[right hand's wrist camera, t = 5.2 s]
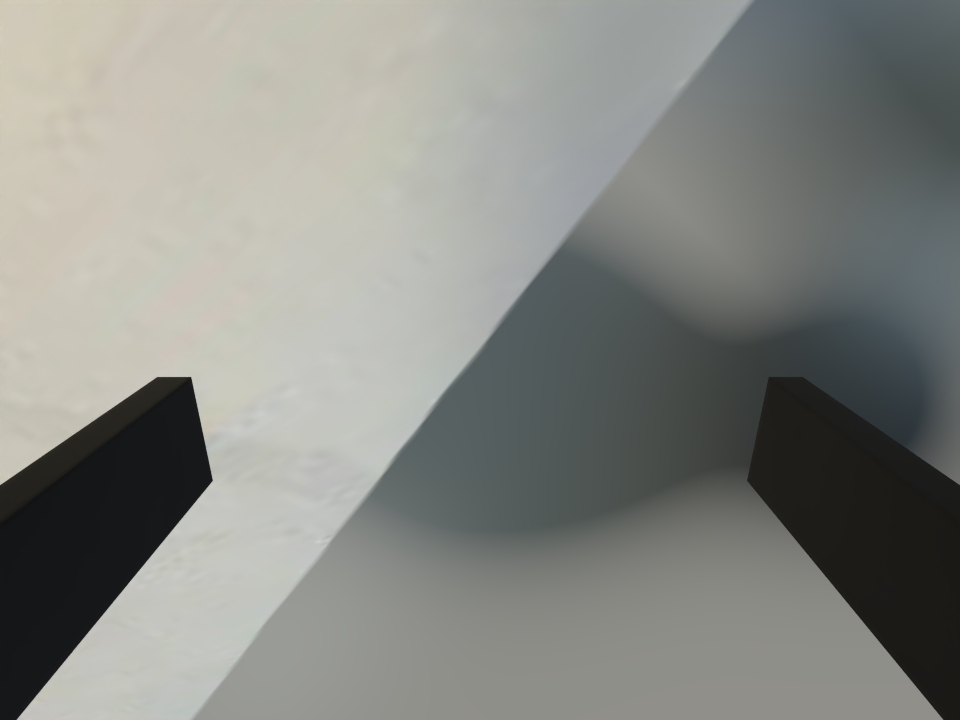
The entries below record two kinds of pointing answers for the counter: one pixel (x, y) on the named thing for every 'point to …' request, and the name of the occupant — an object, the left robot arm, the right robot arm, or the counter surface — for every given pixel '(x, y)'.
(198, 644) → the counter surface
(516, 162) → the counter surface
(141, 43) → the counter surface
